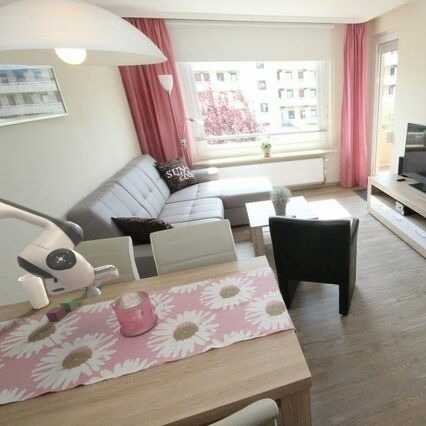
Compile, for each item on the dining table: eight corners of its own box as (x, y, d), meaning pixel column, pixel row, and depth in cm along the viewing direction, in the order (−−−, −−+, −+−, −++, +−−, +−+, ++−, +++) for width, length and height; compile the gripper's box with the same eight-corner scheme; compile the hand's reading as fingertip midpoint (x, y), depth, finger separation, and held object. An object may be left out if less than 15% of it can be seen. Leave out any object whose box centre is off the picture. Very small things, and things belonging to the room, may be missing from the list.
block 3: (94, 292, 137) (91, 285, 136) (86, 293, 137) (83, 285, 136) (100, 287, 141) (98, 280, 139) (92, 288, 141) (89, 280, 139)
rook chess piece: (95, 299, 111) (88, 281, 108) (84, 299, 111) (77, 281, 108) (104, 292, 115) (97, 274, 112) (93, 292, 115) (86, 275, 112)
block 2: (71, 310, 125) (68, 302, 123) (62, 311, 125) (59, 303, 123) (79, 304, 128) (76, 297, 127) (70, 305, 129) (67, 297, 127)
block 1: (58, 321, 119) (55, 313, 117) (49, 321, 119) (45, 313, 117) (67, 314, 122) (63, 306, 121) (57, 314, 122) (54, 307, 121)
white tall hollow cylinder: (27, 310, 127) (13, 280, 122) (43, 300, 133) (30, 272, 128) (39, 311, 126) (26, 281, 121) (55, 301, 132) (43, 272, 127)
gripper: (112, 257, 107) (121, 269, 118) (39, 276, 97) (56, 287, 108) (115, 273, 105) (124, 284, 116) (41, 293, 95) (58, 303, 106)
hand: (90, 285), depth 112 cm, fingers closed on rook chess piece, 3 cm apart
